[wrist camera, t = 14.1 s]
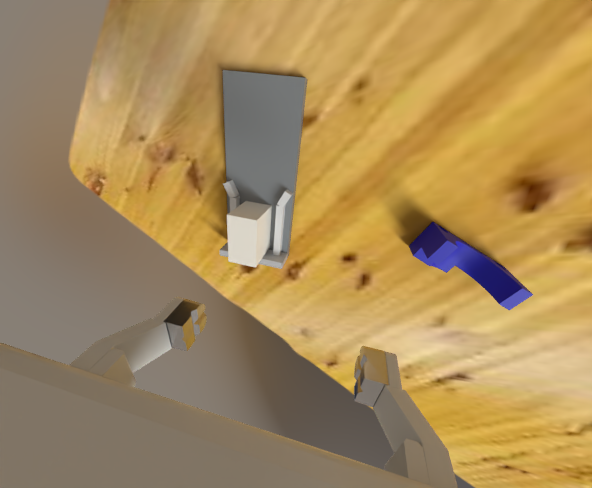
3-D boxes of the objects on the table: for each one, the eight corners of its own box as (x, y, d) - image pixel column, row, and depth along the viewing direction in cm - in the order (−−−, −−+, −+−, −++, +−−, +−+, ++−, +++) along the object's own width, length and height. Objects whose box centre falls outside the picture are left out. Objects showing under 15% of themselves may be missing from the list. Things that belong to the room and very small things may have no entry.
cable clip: (408, 245, 34) (418, 267, 29) (432, 221, 32) (447, 240, 26) (476, 288, 35) (498, 317, 29) (504, 267, 32) (533, 294, 27)
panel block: (246, 200, 35) (226, 214, 30) (272, 205, 34) (257, 220, 29) (245, 242, 38) (228, 261, 33) (269, 247, 38) (255, 267, 32)
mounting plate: (227, 71, 29) (208, 64, 25) (307, 79, 27) (299, 72, 24) (232, 243, 40) (219, 255, 37) (288, 255, 39) (281, 268, 35)
